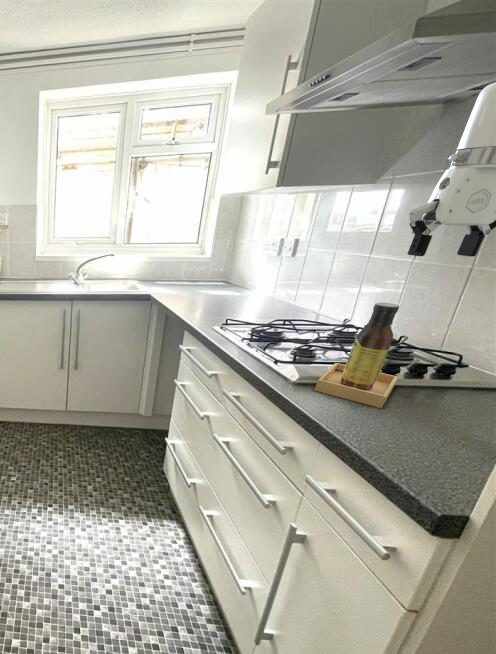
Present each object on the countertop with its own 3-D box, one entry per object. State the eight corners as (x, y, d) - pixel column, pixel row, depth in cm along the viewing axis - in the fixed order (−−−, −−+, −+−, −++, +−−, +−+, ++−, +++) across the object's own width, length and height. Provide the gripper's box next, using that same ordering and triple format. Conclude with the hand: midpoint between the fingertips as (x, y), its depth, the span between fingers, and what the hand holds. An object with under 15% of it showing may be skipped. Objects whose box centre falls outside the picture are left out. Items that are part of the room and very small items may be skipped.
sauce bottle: (348, 379, 103) (380, 299, 95) (378, 388, 98) (414, 305, 90) (332, 383, 101) (363, 302, 93) (361, 393, 96) (397, 308, 88)
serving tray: (331, 372, 109) (335, 362, 108) (393, 387, 101) (398, 376, 100) (314, 390, 99) (318, 379, 98) (381, 408, 91) (386, 396, 90)
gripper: (451, 158, 74) (412, 257, 81) (554, 157, 74) (505, 258, 80) (414, 162, 81) (380, 253, 88) (507, 161, 80) (466, 253, 87)
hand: (440, 255), depth 84 cm, fingers open, 9 cm apart
